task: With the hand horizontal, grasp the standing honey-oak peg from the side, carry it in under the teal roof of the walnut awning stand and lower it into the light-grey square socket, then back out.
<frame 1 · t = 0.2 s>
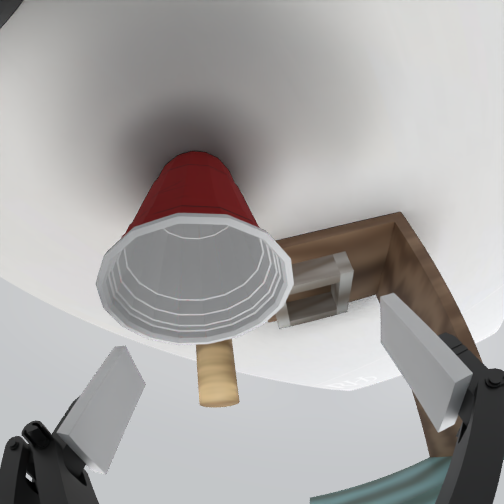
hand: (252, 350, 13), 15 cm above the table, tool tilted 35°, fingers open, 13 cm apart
plastic cup: (196, 177, 23), on the table
peg: (211, 310, 38), on the table
awning stand: (327, 270, 34), on the table
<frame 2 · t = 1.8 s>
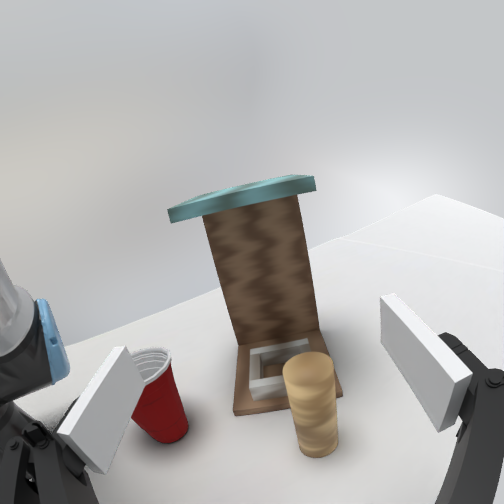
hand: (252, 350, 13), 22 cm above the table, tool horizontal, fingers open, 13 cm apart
plastic cup: (170, 429, 33), on the table
peg: (318, 442, 27), on the table
awning stand: (283, 368, 42), on the table
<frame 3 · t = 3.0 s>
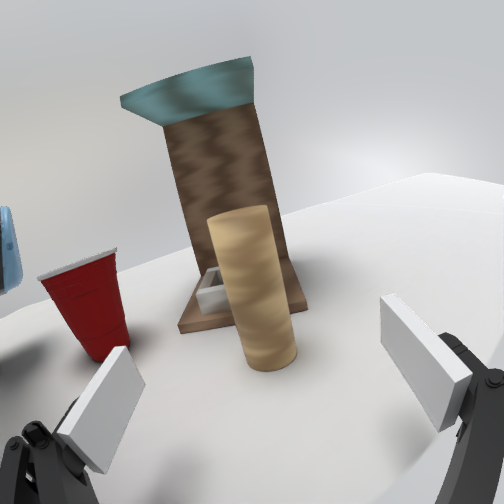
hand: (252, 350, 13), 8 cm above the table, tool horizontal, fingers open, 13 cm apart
plastic cup: (111, 350, 30), on the table
peg: (271, 355, 24), on the table
awning stand: (244, 291, 40), on the table
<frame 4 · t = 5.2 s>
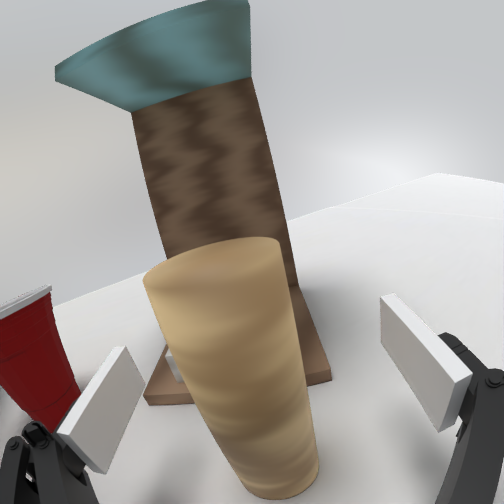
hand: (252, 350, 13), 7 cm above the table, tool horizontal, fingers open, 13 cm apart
plastic cup: (64, 415, 19), on the table
peg: (279, 468, 12), on the table
awning stand: (239, 338, 28), on the table
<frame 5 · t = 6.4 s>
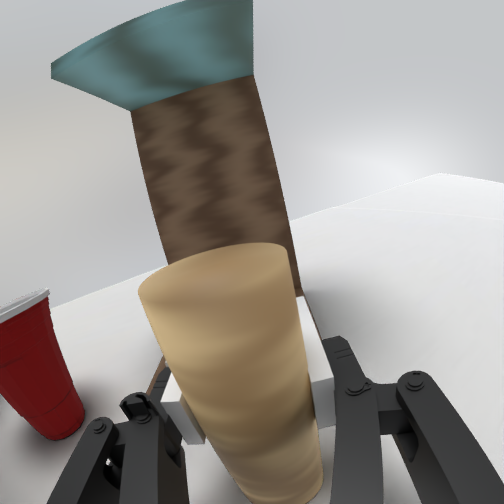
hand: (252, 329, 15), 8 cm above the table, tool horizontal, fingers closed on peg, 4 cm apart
plastic cup: (63, 420, 18), on the table
peg: (282, 478, 12), on the table, touching gripper
awning stand: (240, 342, 27), on the table
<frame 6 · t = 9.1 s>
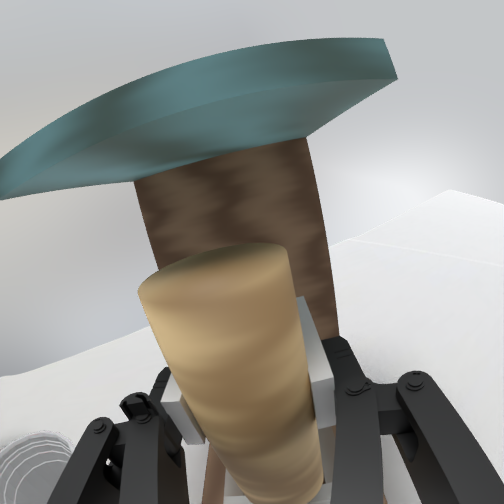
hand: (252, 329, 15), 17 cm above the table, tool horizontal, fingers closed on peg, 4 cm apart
peg: (282, 479, 12), point 9 cm above the table, touching gripper
awning stand: (285, 456, 22), on the table
when the fingers open (10 cm above the table, at t = 11.8 s): peg drops 1 cm, resting on awning stand.
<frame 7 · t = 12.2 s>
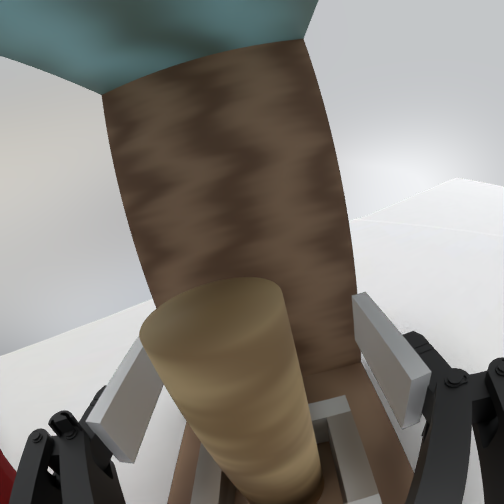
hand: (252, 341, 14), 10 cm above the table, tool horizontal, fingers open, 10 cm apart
peg: (285, 486, 12), point 1 cm above the table, touching awning stand
awning stand: (285, 459, 15), on the table
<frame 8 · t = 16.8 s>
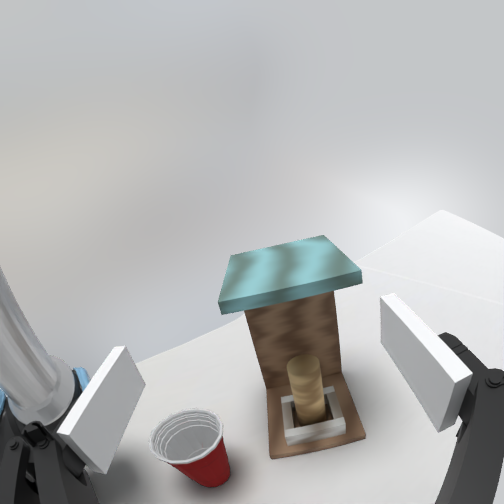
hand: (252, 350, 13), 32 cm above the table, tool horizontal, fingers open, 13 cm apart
plastic cup: (212, 473, 34), on the table
peg: (312, 420, 40), point 1 cm above the table, touching awning stand
awning stand: (310, 412, 43), on the table
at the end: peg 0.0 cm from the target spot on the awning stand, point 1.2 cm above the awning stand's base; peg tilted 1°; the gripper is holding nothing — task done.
